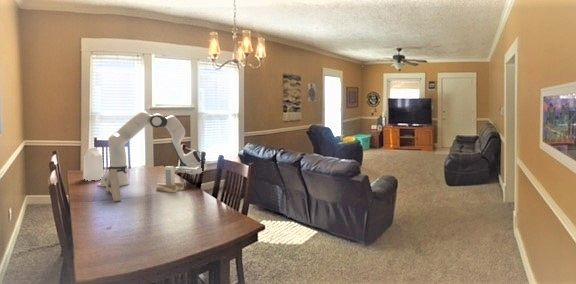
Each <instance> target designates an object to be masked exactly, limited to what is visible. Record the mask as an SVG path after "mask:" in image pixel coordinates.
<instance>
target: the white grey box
mask: <svg viewBox="0 0 576 284" xmlns="http://www.w3.org/2000/svg"><path fill="white" fill-rule="evenodd" d="M175 173H176V172H175V166H173V165H171V166H170V165H168V166H165V167H164V178H165V179H164V182H165V184H170V185H175V182H176V179H175V178H176V174H175Z"/></svg>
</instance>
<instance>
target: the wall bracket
mask: <svg viewBox="0 0 576 284" xmlns="http://www.w3.org/2000/svg"><path fill="white" fill-rule="evenodd" d="M108 171H109V175H108V181H107V186H105V190H106V191H105V192H106V193H107V194H111V195H112V197H111V198H112V201H113V203H116V202H117V203H118V202H122V196H121V189H120V187H121V186H119V180H118V173H117V169H110V170H109V169H108Z"/></svg>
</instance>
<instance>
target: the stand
mask: <svg viewBox="0 0 576 284" xmlns="http://www.w3.org/2000/svg"><path fill="white" fill-rule="evenodd" d="M155 186H156V187H155V191H161V192H169V193H170V192H171V193H175V192H179V190H180V191H182V190H185V183H184V182H181V181H180V182H179V181H178V182H177V181H175V185H170V184H165V181H164V183H156V185H155Z"/></svg>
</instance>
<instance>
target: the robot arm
mask: <svg viewBox="0 0 576 284" xmlns="http://www.w3.org/2000/svg"><path fill="white" fill-rule="evenodd" d="M149 125H150V126H151V127H152V128H155V129H161V128H165V129H167V130H168V132H169V134H170V136H171V144H172V146H173V149H174V151H175V153H176V155H177V157H178V159H179V163H180V165H179V166H174V172H175V173H185V174H189V175H196V174H197V175H198V174H199V175H200V174H202V172H203V171H202V168H201V165H200V161H201V160H200V157H201V155H200V153H201V151H199V150H197V149H193V150H191V151H190V152H188V153H185V152H184V149H183V147H182V145H181V142H182V141H183V139H184V138H185V136H186V130H185V129H186V128H185V127H184V126H183V124H182V123H181V122H180V120H179V119H178V118H177V117H176V116H175V115H169V116H164V115H163V114H161V113H154V114H150V113H149V112H147V111H145V110H144V111H140V112H138V113H137V114H136V115H135V114H134V116H133V117H131V118H130V119H129V120H128V121H127V122H126V123H125V124H123V126H121V127H120V128H119V129H118V130H117V131H115V132H114V133H113V134H111V135H110V136H109V137H108V140H107V141H108V143H107V144H108V151H109V157H110V159H109V161H110V166H109V167H107V170H108V171H107V172H106V173H104V175H103V176H102V177H101V180H100V182H98V183H97V187H106V186H107V181H108V175H109V170H110V169H117V173H118V180H119V187H121V186H127V185H130V180H129V175H128V165H127V153H126V144H127V143H128V142H129V141H131V140H132V139H133V138H134V137H135V136H137V134H139V133H141V132H140V131H142V130H144V128H145V127H147V126H149ZM204 161H205V164H204V171H206V169H207V168H208V163H207V162H206V160H204Z"/></svg>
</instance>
